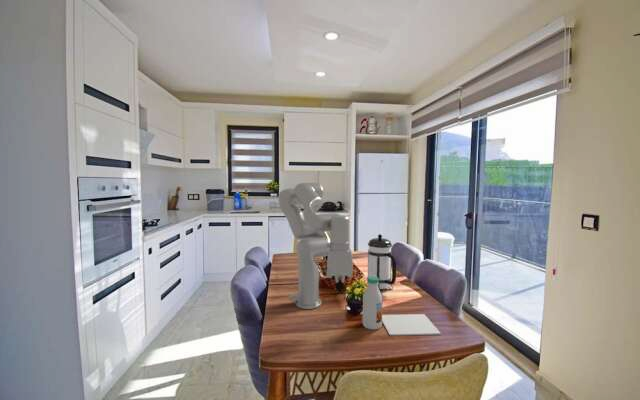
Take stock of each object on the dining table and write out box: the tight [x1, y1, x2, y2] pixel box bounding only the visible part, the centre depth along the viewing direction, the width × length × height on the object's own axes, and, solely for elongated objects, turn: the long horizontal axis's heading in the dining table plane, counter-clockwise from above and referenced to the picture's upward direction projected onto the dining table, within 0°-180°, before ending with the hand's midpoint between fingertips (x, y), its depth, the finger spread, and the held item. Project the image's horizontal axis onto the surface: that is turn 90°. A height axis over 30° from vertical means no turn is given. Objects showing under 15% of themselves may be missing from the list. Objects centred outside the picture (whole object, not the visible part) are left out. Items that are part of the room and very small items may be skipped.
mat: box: [382, 313, 442, 337], centre depth 120 cm, size 20×16×1 cm
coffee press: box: [367, 234, 397, 291], centre depth 159 cm, size 17×16×30 cm
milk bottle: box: [362, 276, 383, 331], centre depth 119 cm, size 8×8×20 cm
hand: (339, 291), depth 118 cm, fingers closed
